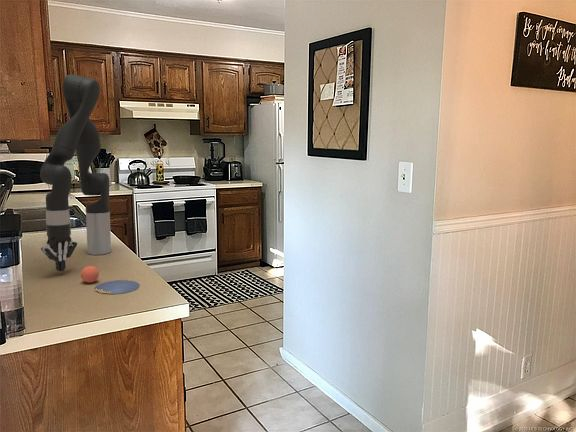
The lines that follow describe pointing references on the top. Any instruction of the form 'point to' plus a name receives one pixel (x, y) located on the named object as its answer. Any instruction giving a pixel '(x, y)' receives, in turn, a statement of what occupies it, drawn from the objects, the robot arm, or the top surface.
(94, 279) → the ball
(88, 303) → the top surface
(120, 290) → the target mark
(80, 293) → the top surface
